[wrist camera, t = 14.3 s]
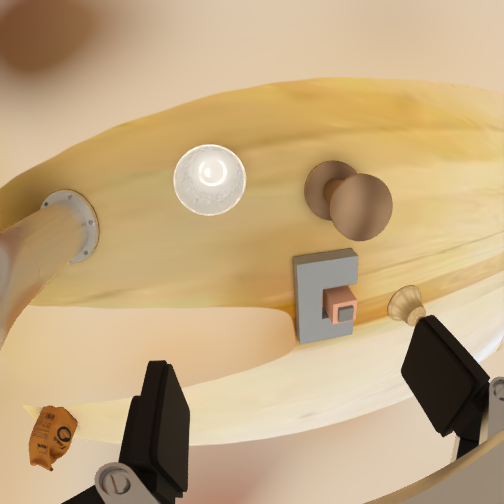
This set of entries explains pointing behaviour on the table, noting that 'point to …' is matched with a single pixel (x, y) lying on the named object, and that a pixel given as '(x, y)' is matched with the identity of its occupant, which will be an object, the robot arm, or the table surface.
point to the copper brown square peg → (339, 304)
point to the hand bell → (407, 305)
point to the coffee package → (51, 436)
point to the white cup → (209, 179)
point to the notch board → (321, 292)
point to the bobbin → (349, 200)
